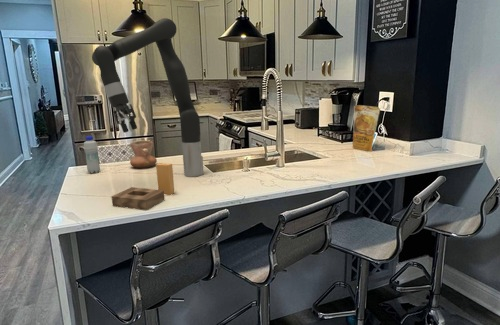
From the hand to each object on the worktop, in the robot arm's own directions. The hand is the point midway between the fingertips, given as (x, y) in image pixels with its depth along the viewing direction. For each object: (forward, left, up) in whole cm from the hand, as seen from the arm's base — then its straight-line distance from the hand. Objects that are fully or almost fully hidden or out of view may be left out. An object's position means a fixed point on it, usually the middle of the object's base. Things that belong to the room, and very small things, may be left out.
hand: (130, 130), depth 152 cm
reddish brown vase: (-9, -42, -27) cm, 50 cm away
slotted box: (+2, +20, -26) cm, 33 cm away
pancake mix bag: (-143, -12, -27) cm, 146 cm away
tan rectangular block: (-11, +13, -27) cm, 32 cm away
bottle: (+17, -42, -27) cm, 52 cm away
